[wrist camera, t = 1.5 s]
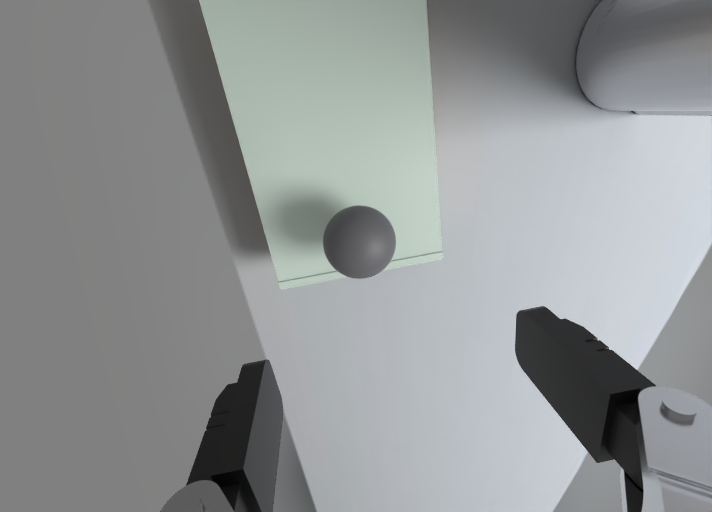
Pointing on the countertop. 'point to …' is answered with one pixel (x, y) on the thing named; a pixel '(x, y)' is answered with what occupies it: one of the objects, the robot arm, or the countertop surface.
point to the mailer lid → (333, 130)
